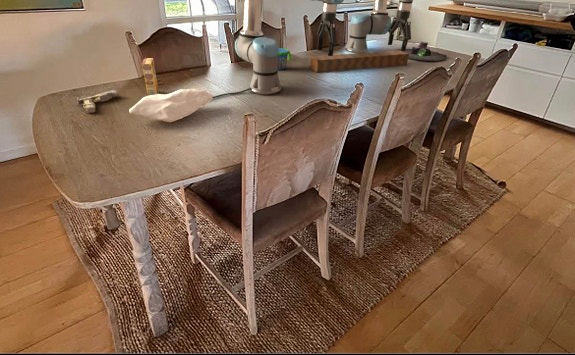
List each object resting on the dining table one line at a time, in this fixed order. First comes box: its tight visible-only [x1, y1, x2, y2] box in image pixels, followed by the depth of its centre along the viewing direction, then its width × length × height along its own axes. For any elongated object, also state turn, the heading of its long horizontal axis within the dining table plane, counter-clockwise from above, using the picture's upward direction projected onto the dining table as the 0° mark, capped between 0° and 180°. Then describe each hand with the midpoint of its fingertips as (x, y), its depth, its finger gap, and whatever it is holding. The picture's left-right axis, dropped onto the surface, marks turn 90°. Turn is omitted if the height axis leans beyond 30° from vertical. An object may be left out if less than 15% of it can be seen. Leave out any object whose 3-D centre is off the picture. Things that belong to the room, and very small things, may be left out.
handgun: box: [76, 89, 120, 114], centre depth 155 cm, size 3×18×15 cm
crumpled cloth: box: [129, 88, 214, 123], centre depth 147 cm, size 24×35×9 cm
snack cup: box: [278, 47, 292, 71], centre depth 207 cm, size 16×10×10 cm
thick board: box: [309, 49, 410, 73], centre depth 218 cm, size 62×9×7 cm, turn 112°
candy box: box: [141, 57, 160, 96], centre depth 163 cm, size 9×4×15 cm, turn 13°
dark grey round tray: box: [394, 41, 447, 62], centre depth 246 cm, size 35×35×9 cm
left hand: (324, 53), depth 206 cm, fingers open, 13 cm apart
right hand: (396, 47), depth 223 cm, fingers open, 13 cm apart
